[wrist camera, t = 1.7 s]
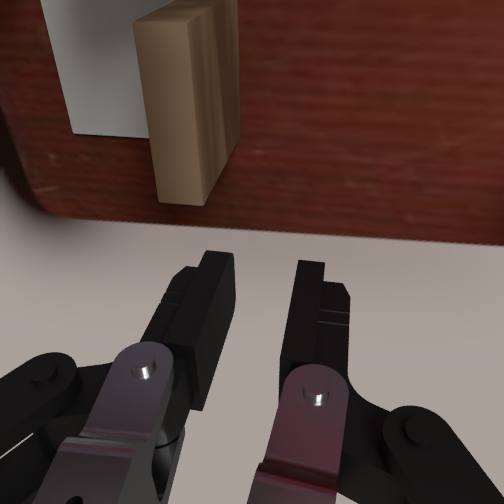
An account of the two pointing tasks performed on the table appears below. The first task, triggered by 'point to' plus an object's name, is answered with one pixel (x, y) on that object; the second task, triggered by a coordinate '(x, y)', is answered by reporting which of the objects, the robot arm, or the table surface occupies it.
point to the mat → (100, 63)
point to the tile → (190, 93)
